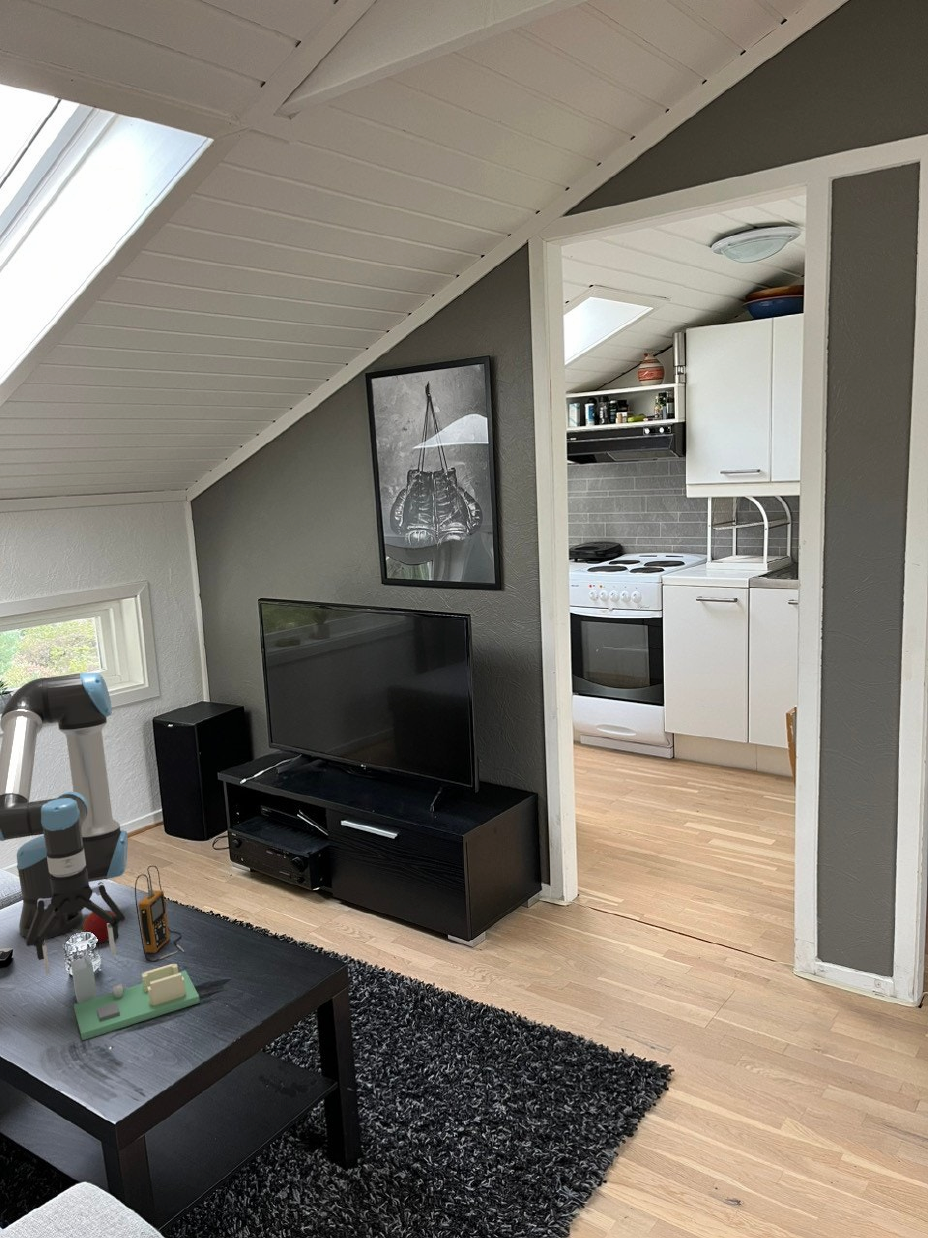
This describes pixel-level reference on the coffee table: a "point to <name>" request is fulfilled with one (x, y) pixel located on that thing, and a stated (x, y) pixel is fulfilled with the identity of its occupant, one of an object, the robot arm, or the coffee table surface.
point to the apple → (97, 926)
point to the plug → (83, 979)
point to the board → (136, 1002)
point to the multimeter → (153, 920)
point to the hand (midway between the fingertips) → (81, 962)
